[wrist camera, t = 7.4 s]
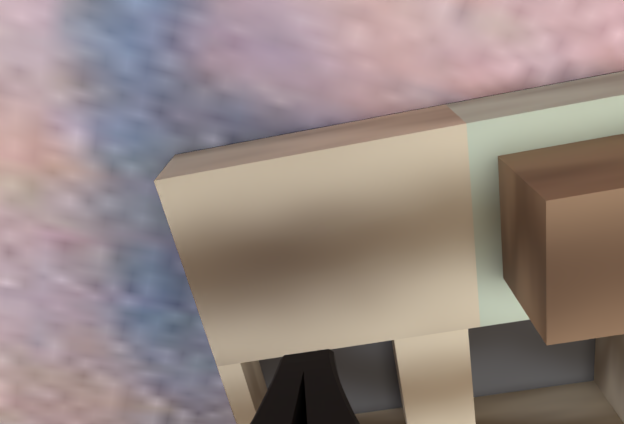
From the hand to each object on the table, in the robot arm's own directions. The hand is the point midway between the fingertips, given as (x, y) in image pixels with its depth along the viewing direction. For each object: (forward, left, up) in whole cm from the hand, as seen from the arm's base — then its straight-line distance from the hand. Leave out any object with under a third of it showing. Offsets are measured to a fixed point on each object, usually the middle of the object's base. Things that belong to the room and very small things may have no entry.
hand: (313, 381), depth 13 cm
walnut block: (+1, -10, -6) cm, 11 cm away
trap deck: (-4, -4, -9) cm, 11 cm away
